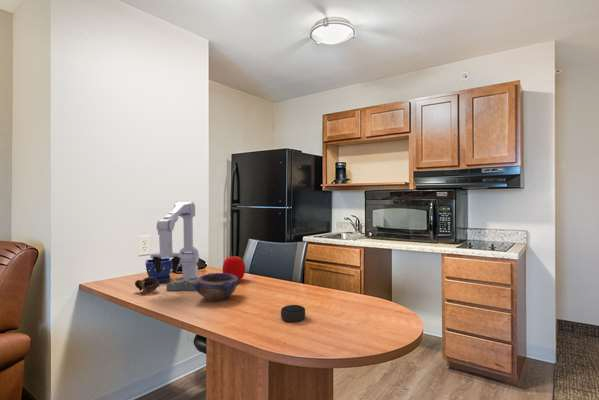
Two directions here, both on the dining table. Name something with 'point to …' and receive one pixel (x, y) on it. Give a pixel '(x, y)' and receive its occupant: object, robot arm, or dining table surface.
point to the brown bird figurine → (147, 284)
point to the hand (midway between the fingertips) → (166, 272)
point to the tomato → (234, 266)
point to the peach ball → (179, 279)
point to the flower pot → (164, 273)
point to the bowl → (216, 285)
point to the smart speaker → (293, 313)
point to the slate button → (192, 279)
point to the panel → (180, 286)
